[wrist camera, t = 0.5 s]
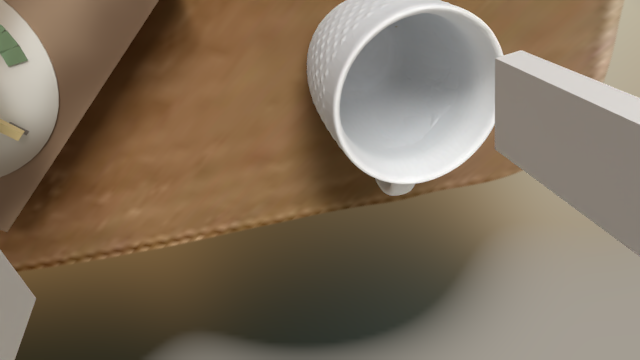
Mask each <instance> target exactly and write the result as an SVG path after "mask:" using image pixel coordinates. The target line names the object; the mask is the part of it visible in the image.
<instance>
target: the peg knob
mask: <svg viewBox="0 0 640 360" xmlns="http://www.w3.org/2000/svg"><path fill="white" fill-rule="evenodd" d="M24 132H25V131H24V130H22V129H20V128H18V127H16V126H14V125H12V124H10V123H8V122H6V121H4V120H2V119H0V133H2V134H4V135H7V136H9V137H11V138H13V139H15V140H17V141H19V139H20V138H21V136H22V135H23V133H24Z"/></svg>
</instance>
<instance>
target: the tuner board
mask: <svg viewBox="0 0 640 360" xmlns="http://www.w3.org/2000/svg"><path fill="white" fill-rule="evenodd" d="M158 1H159V0H0V119H2V120H4V121H6V122H8V123H10V124H12V125H14V126H16V127H18V128H20V129H22V130H24V131H25V132H24V133H23V135H22V136H21V138H20V139H19V141H17V140H15V139H13V138H11V137H9V136H7V135H4V134H2V133H0V230H2V231H5V232H8V230H9V229H10V227H11V226H12V224H13V223H14V221H15V220H16V218H17V217H18V215H19V214H20V212H21V211H22V209H23V207H24V206H25V204H26V203H27V201H28V200H29V198H30V197H31V195H32V194H33V192H34V191H35V189H36V188H37V186H38V184H39V183H40V181H41V180H42V178H43V177H44V175H45V174H46V172H47V171H48V169H49V168H50V166H51V165H52V163H53V162H54V160H55V158H56V157H57V155H58V154H59V152H60V151H61V149H62V148H63V146H64V145H65V143H66V142H67V140H68V139H69V137H70V136H71V134H72V132H73V131H74V129H75V128H76V126H77V125H78V123H79V122H80V120H81V119H82V117H83V116H84V114H85V113H86V111H87V109H88V108H89V106H90V105H91V103H92V102H93V100H94V99H95V97H96V96H97V94H98V93H99V91H100V90H101V88H102V87H103V85H104V83H105V82H106V80H107V79H108V77H109V76H110V74H111V73H112V71H113V70H114V68H115V67H116V65H117V64H118V62H119V61H120V59H121V57H122V56H123V54H124V53H125V51H126V50H127V48H128V47H129V45H130V44H131V42H132V41H133V39H134V38H135V36H136V34H137V33H138V31H139V30H140V28H141V27H142V25H143V24H144V22H145V21H146V19H147V18H148V16H149V15H150V13H151V12H152V10H153V8H154V7H155V5H156V4H157V2H158Z"/></svg>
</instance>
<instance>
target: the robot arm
mask: <svg viewBox="0 0 640 360" xmlns="http://www.w3.org/2000/svg"><path fill="white" fill-rule="evenodd" d="M495 150H497V151H498V152H499V153H501V154H502V155H503V156H505V157H506V158H508V159H509V160H510V161H512V162H513V163H514V164H516V165H517V166H518V167H520V168H521V169H522V170H524V171H525V172H526V173H528V174H529V175H531V176H532V177H533V178H535V179H536V180H537V181H539V182H540V183H541V184H543V185H544V186H545V187H547V188H548V189H549V190H551V191H552V192H553V193H555V194H556V195H557V196H559V197H560V198H561V199H563V200H564V201H566V202H567V203H568V204H570V205H571V206H572V207H574V208H575V209H576V210H578V211H579V212H580V213H582V214H583V215H584V216H586V217H587V218H588V219H590V220H591V221H593V222H594V223H595V224H597V225H598V226H599V227H601V228H602V229H604V230H605V231H606V232H608V233H609V234H610V235H611V236H613V237H614V238H615V239H617V240H618V241H620V242H621V243H622V244H624V245H625V246H626V247H628V248H629V249H630V250H632V251H633V252H634V253H636V254H637V255H638V256H640V98H639V97H636V96H633V95H631V94H629V93H626V92H624V91H621V90H619V89H616V88H613V87H611V86H609V85H606V84H604V83H601V82H599V81H596V80H594V79H591V78H589V77H586V76H584V75H581V74H579V73H576V72H574V71H571V70H569V69H566V68H564V67H561V66H559V65H556V64H554V63H551V62H549V61H547V60H544V59H542V58H539V57H537V56H534V55H532V54H529V53H527V52H524V51H522V50H521V51H517V52H514V53H511V54H507V55H504V56H501V57H497V58H495ZM35 300H36V297H35V296H34V295H33V294H32V292H31V291H30V289H29V288H28V287H27V285H26V284H25V283H24V281H23V280H22V279H21V277H20V276H19V274H18V273H17V272H16V270H15V269H14V268H13V266H12V265H11V264H10V262H9V261H8V260H7V258H6V257H5V255H4V254H3V253H2V251H1V250H0V360H15V357H16V354H17V351H18V349H19V346H20V343H21V340H22V337H23V334H24V331H25V328H26V326H27V323H28V320H29V317H30V314H31V312H32V308H33V305H34V303H35Z"/></svg>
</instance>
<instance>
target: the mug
mask: <svg viewBox="0 0 640 360" xmlns="http://www.w3.org/2000/svg"><path fill="white" fill-rule="evenodd" d="M501 56H503V53H502V50H501V47H500V44H499V42H498V40H497V38H496V37H495V35H494V33H493V32H492V31H491V29H490V28H489V27H488V26H487V25H486V24H485V23H484V22H483V21H482V20H481V19H480V18H478V17H477V16H476V15H474V14H472V13H471V12H469V11H467V10H465V9H463V8H460V7H458V6H455V5H451V4H450V3H448V2H443V1H440V0H347V1H344V2H343V3H340V4H339V5H338V6H337V7H335V8H334V9H333V10H331V12H330V13H329V14H327V15H326V16H325V18H324V19H323V20H322V22H321V23H320V24H319V25H318V28H317V29H316V30H315V33H314V35H313V37H312V40H311V42H310V46H309V50H308V54H307V58H308V59H307V77H308V85H309V90H310V94H311V96H312V100H313V103H314V105H315V106H316V110H317V112H318V113H319V114H320V117H321V120H322V121H323V122H324V123H325V126H326V128H327V130H328V131H329V132H330V134H331V135H332V138H333V139H334V140H335V141H336V142H337V144H338V146H339V147H340V148H341V149H342V150H343V152H344V153H345V154H346V156H347V157H348V158H349V159H350V160H351V162H352V163H353V164H354V165H356V166H357V167H358V168H359V169H360V170H362V171H363V172H364V173H366V174H368V175H370V176H371V177H374V178H375V180H376V182H377V184H378V185H379V187H380V188H381V190H382V191H383V192H384V193H386V194H388V195H391V196H397V195H403V194H406V193H408V192H409V191H411V190H412V189H413V187H414V185H415V184H417V183H422V182H426V181H430V180H433V179H436V178H438V177H441V176H442V175H445V174H447V173H449V172H450V171H452V170H454V169H455V168H457V167H458V166H460V165H461V164H462V163H464V162H465V161H466V160H467V159H468V158H469V157H471V156H472V155H473V154H474V153H475V152H476V151H477V149H478V148H479V147H480V146H481V145H482V143H483V142H484V141H485V140H486V138H487V137H488V135H489V134H490V132H491V130H492V128H493V127H494V125H495V58H497V57H501Z"/></svg>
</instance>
